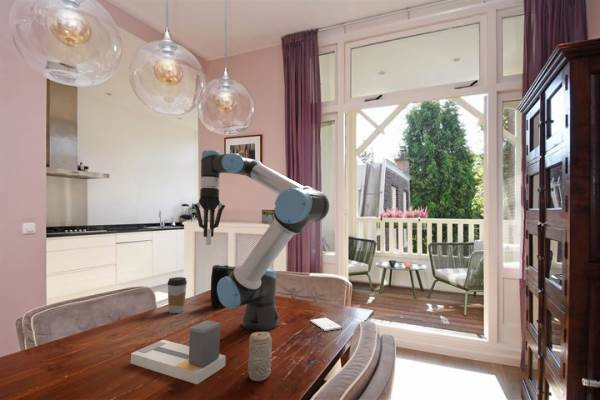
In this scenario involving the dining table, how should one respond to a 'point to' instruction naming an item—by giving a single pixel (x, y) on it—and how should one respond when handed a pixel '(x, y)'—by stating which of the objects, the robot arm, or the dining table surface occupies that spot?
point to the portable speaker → (217, 274)
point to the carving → (259, 356)
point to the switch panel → (174, 361)
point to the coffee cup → (176, 294)
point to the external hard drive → (325, 324)
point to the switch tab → (204, 343)
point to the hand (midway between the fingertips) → (208, 244)
